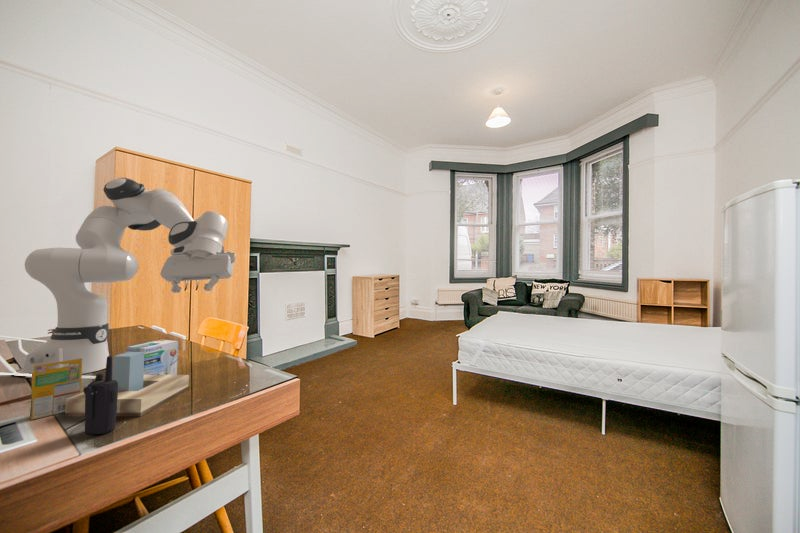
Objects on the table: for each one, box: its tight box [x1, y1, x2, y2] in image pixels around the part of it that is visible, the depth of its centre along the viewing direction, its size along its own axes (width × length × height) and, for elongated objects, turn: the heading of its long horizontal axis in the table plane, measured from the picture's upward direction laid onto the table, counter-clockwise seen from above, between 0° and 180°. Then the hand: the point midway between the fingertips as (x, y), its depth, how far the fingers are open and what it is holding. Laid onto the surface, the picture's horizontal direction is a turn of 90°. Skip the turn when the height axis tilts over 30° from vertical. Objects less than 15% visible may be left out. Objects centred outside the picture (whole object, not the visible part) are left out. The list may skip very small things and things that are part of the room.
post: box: [112, 351, 145, 391], centre depth 73 cm, size 4×4×11 cm
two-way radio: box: [82, 355, 118, 435], centre depth 59 cm, size 6×4×15 cm
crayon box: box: [29, 358, 83, 421], centre depth 67 cm, size 7×3×12 cm, turn 145°
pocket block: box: [64, 374, 190, 418], centre depth 74 cm, size 16×16×4 cm
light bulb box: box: [125, 339, 179, 375], centre depth 89 cm, size 11×7×11 cm, turn 168°
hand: (191, 291), depth 90 cm, fingers open, 8 cm apart
